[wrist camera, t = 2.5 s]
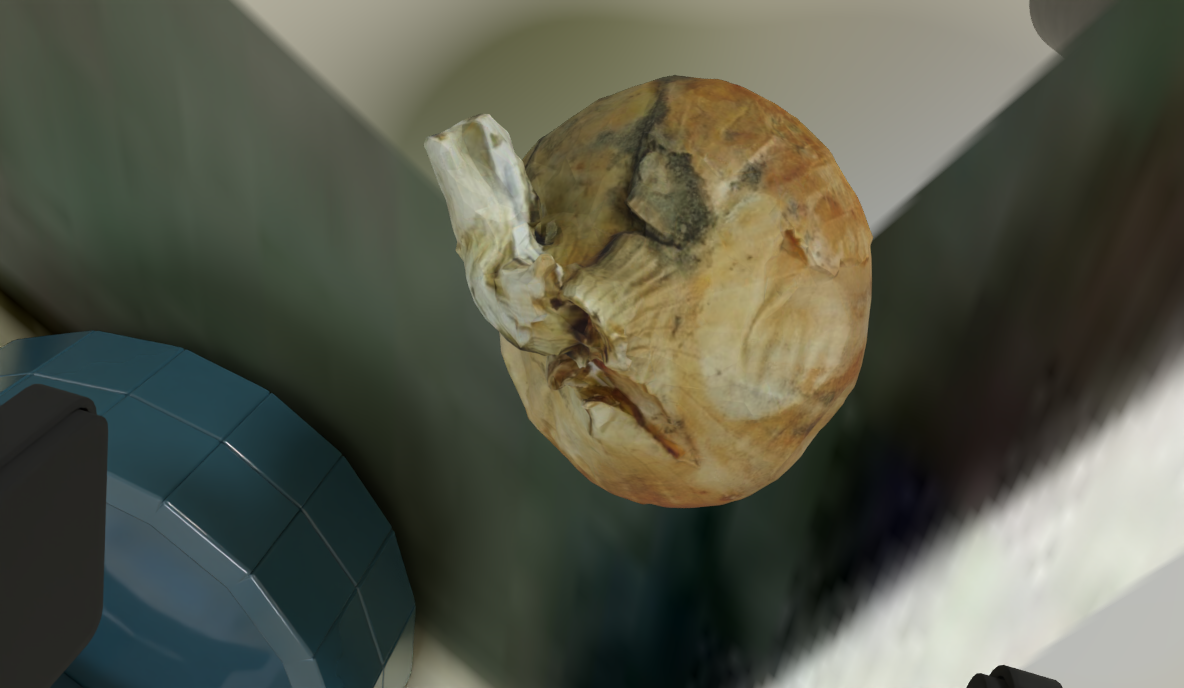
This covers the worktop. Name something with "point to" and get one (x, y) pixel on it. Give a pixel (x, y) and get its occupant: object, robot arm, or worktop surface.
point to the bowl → (224, 530)
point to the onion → (667, 283)
